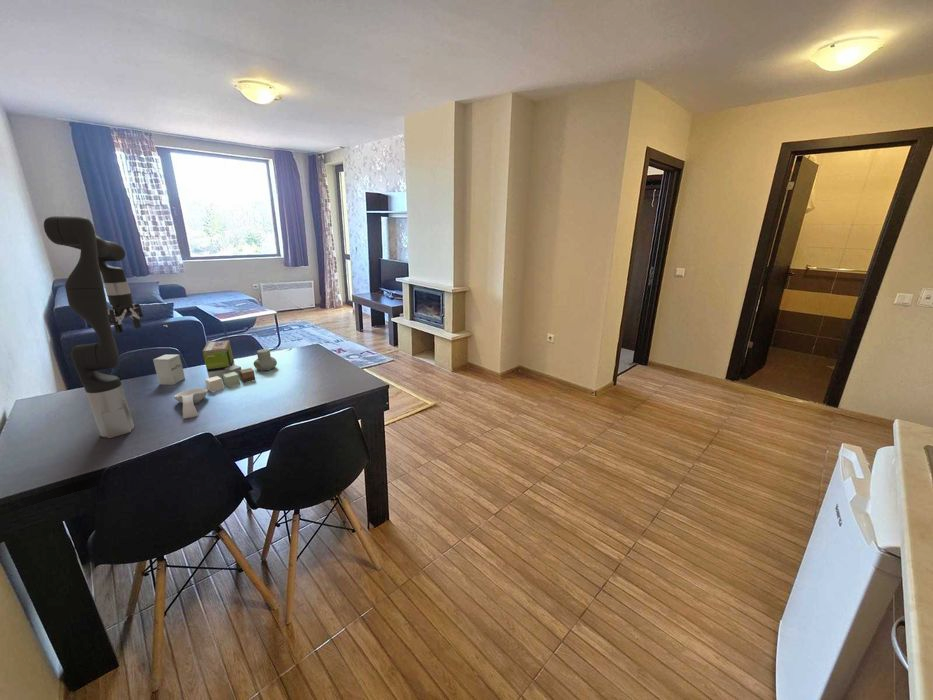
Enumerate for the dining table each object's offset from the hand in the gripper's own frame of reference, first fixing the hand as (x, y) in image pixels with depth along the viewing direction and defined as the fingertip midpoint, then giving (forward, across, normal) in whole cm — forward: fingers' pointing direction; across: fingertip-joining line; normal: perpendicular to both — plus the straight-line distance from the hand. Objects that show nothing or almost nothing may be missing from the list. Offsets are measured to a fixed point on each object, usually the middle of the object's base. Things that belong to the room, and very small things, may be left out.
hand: (129, 330), depth 163 cm
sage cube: (+28, +8, -35) cm, 46 cm away
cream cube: (+28, +2, -31) cm, 42 cm away
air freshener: (+28, +28, -40) cm, 57 cm away
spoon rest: (+28, -15, -32) cm, 46 cm away
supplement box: (+28, +9, -5) cm, 30 cm away
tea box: (+28, +22, -21) cm, 41 cm away
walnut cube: (+28, +13, -40) cm, 50 cm away
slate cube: (+28, +16, -31) cm, 45 cm away
